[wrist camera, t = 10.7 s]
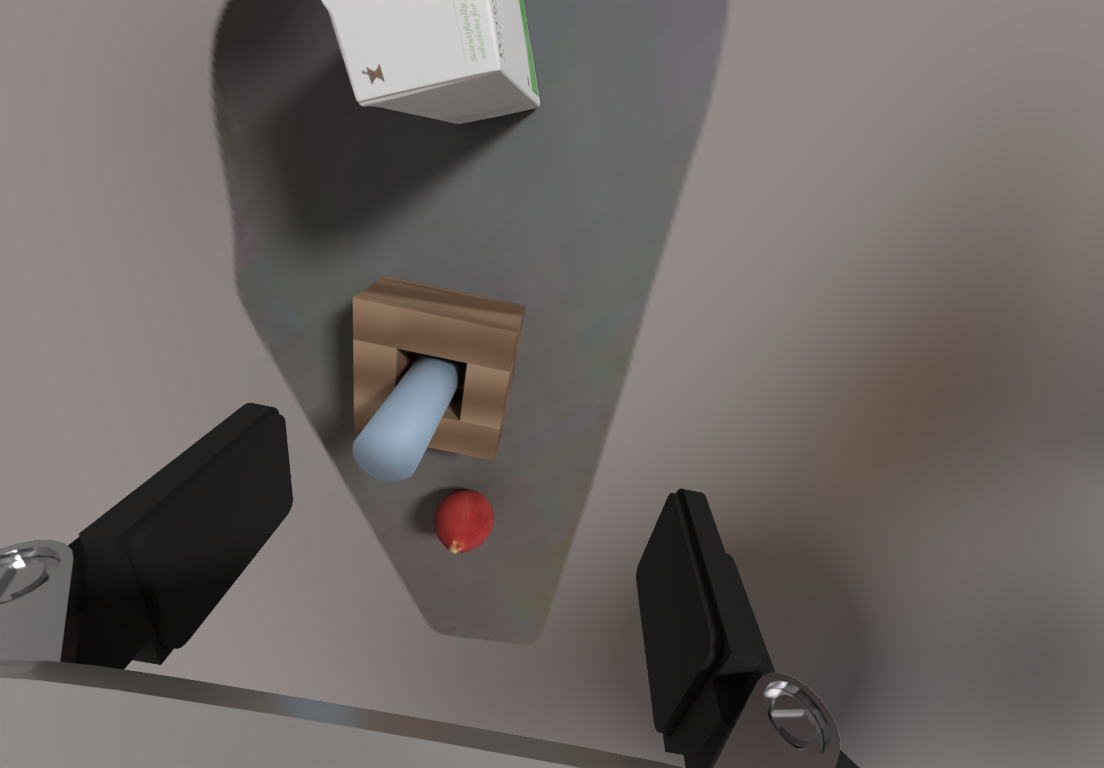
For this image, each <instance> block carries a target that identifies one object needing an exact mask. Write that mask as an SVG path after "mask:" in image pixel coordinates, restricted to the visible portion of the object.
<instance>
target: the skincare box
mask: <svg viewBox="0 0 1104 768" xmlns="http://www.w3.org/2000/svg"><path fill="white" fill-rule="evenodd" d="M321 1H322V2H323V4H324V6H325V7H326V8H327V10H328V12H329V15H330V19H331V22H332V25H333V28H334V32H335V35H336V38H337V41H338V44H339V48H340V51H341V54H342V57H343V60H344V63H345V66H346V70H347V73H348V76H349V79H350V82H351V85H352V88H353V91H354V94H355V97H356V100H357V102H358V103H359V104H360V105H361V106H363V107H365V106H374V107H381V108H386V109H390V110H395V111H400V112H405V113H409V114H414V115H419V116H423V117H428V118H432V119H437V120H442V121H446V122H450V123H455V124H463V123H468V122H473V121H478V120H484V119H489V118H493V117H498V116H503V115H508V114H512V113H517V112H521V111H526V110H530V109H535V108H538V107H539V106H540V100H539V94H538V88H537V81H536V75H535V68H534V62H533V56H532V50H531V44H530V38H529V32H528V26H527V20H526V14H525V8H524V2H523V0H321Z"/></svg>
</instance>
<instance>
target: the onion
mask: <svg viewBox="0 0 1104 768" xmlns="http://www.w3.org/2000/svg"><path fill="white" fill-rule="evenodd" d="M493 519H494V512H493V509H492V507H491V505H490V502H489V500H488V499H487V498H486V497H485V496H484V495H482V494H480V493H478V492H477V491H473V490H458V491H456V492H454V493H451V494H450V495H448V496H446V497H445V498H444V499H443V501H442V502H441V504H440V505H439V507H438V508H437V511H436V514H435V531H436V534H437V536H438V539H439V540H440V541H441V543H442V544H443V545H444V546H445V547H446V548H447V549H449V550H450V551H451V552H452V553H454V554H456V553H458V552H459V553H463V552H467V551H470V550H472V549H474V548H476V547H478V546H480V545H481V544H482V543H483V542H484V541H485V540H486V538H487V537H488V536H489V534H490V532H491V530H492V527H493Z"/></svg>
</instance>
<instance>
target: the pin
mask: <svg viewBox="0 0 1104 768" xmlns="http://www.w3.org/2000/svg"><path fill="white" fill-rule="evenodd" d="M466 369H467V363H465V362H460V361H455V360H450V359H445V358H441V357H436V356H431V355H426V354H420V355H419V357H418V358H417V359H416V361H415V362H414V363H413V365H412V366H411V367H410V369H409V370H408V371H407V373H406V374H405V375H404V376H403V378H402V379H401V380H400V382H399V383H398V384H397V386H396V387H395V388H394V390H393V391H392V392H391V394H390V395H389V396H388V397H387V399H386V400H385V401H384V403H383V404H382V405H381V407H380V408H379V409H378V411H377V412H376V413H375V415H374V416H373V417H372V419H371V420H370V421H369V422H368V424H367V425H366V426H365V428H364V429H363V430H362V432H361V433H360V434H359V436H358V437H357V438H356V440H355V442H354V444H353V456H354V458H355V461H356V462H357V464H358V465H359V467H360V468H361V469H362V470H363V471H364V472H366V473H367V474H368V475H370V476H372V477H374V478H376V479H379V480H382V481H387V482H397V481H402V480H405V479H407V478H409V477H410V476H411V475H412V474H413V473H414V472H415V470H416V468H417V466H418V464H419V462H420V460H421V458H422V456H423V454H424V453H425V451H426V449H427V447H428V445H429V443H430V441H431V439H432V437H433V435H434V433H435V431H436V429H437V427H438V425H439V423H440V421H441V419H442V417H443V415H444V413H445V411H446V409H447V407H448V405H449V403H450V401H451V399H452V397H453V395H454V393H455V391H456V389H457V388H458V386H459V384H460V382H461V380H462V378H463V376H464V374H465V372H466Z"/></svg>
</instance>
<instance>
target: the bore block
mask: <svg viewBox="0 0 1104 768" xmlns="http://www.w3.org/2000/svg"><path fill="white" fill-rule="evenodd" d="M525 308H526V306H523V305H518V304H513V303H509V302H504V301H499V300H495V299H490V298H485V297H481V296H476V295H471V294H467V293H462V292H457V291H453V290H448V289H443V288H439V287H434V286H430V285H425V284H420V283H416V282H411V281H406V280H402V279H397V278H392V277H388V276H384V277H382V278H381V279H379V280H378V281H377V282H375V283H374V284H372V285H371V286H369V287H368V288H366V289H365V290H363V291H362V292H360V293H359V294H357V295H356V296H355V297H353V376H354V433H359V434H360V433H361V432H362V430H363V429H364V428H365V426H366V425H367V424H368V422H369V421H370V420H371V419H372V417H373V416H374V415H375V413H376V412H377V411H378V409H379V408H380V407H381V405H382V404H383V403H384V401H385V400H386V399H387V397H388V396H389V395H390V394H391V392H392V391H393V390H394V388H395V387H396V386H397V384H398V383H399V382H400V380H401V379H402V378H403V376H404V375H405V374H406V373H407V371H408V370H409V369H410V367H411V366H412V365H413V363H414V362H415V361H416V359H417V358H418V357H419V355H420V354H426V355H431V356H436V357H441V358H445V359H450V360H455V361H460V362H465V363H467V369H466V372H465V374H464V376H463V378H462V380H461V382H460V384H459V386H458V388H457V389H456V391H455V393H454V395H453V397H452V399H451V401H450V403H449V405H448V407H447V409H446V411H445V413H444V415H443V417H442V419H441V421H440V423H439V425H438V427H437V429H436V431H435V433H434V435H433V437H432V439H431V441H430V443H429V445H428V447H429V448H434V449H439V450H444V451H449V452H454V453H459V454H464V455H469V456H474V457H479V458H484V459H489V460H494V459H495V455H496V451H497V448H498V444H499V440H500V437H501V433H502V429H503V426H504V422H505V417H506V411H507V406H508V400H509V395H510V389H511V384H512V379H513V373H514V368H515V362H516V357H517V351H518V346H519V340H520V335H521V329H522V324H523V319H524V313H525Z"/></svg>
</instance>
